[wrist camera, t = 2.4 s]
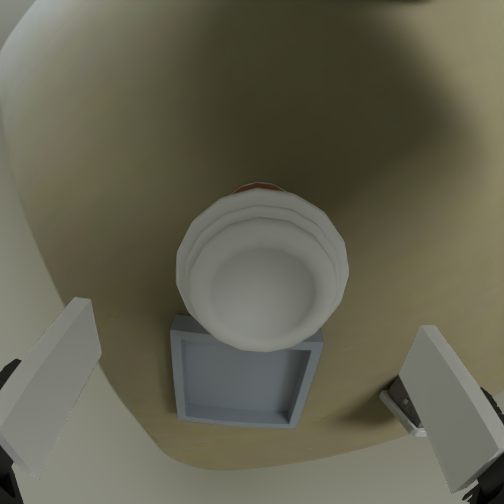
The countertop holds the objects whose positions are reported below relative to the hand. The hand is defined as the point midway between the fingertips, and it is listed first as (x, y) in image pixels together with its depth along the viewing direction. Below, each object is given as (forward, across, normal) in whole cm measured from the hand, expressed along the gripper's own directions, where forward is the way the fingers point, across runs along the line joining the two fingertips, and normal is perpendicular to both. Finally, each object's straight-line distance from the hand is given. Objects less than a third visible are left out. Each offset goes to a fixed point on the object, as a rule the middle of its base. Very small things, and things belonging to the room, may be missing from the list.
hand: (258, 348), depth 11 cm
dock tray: (+16, 0, -17) cm, 23 cm away
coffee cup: (+16, 0, 0) cm, 16 cm away
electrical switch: (+16, +22, -19) cm, 33 cm away
